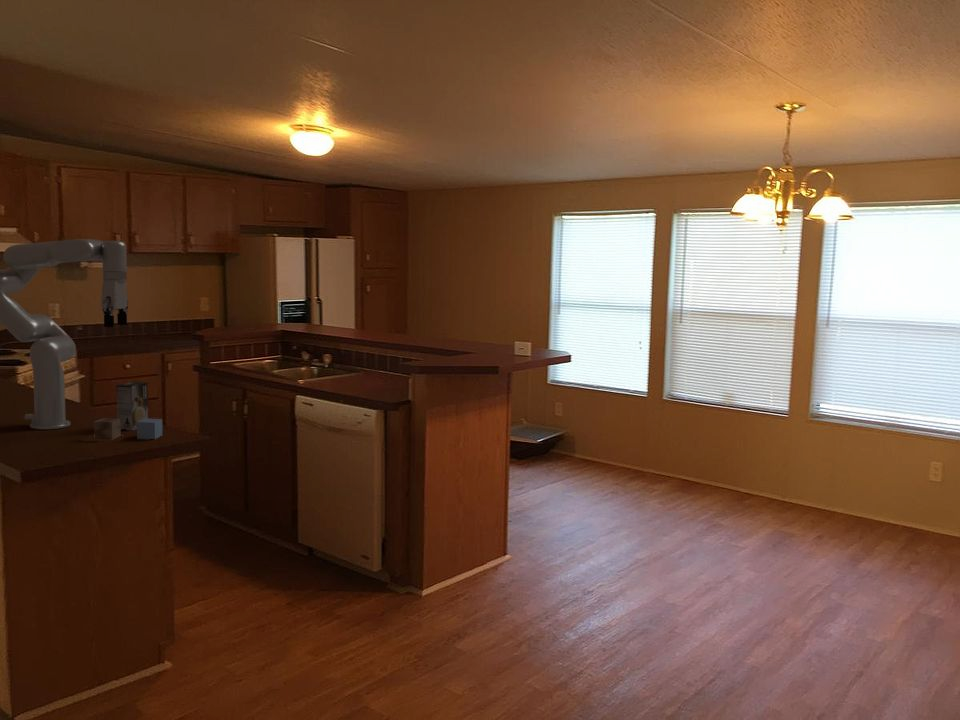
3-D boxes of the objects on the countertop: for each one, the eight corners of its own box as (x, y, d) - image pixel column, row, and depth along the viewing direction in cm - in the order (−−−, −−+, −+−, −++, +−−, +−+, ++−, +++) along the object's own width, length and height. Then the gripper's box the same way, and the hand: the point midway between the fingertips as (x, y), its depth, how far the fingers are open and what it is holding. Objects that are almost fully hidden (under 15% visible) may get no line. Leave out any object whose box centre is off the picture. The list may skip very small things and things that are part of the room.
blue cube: (137, 439, 258) (136, 422, 258) (144, 435, 264) (144, 418, 263) (155, 440, 258) (154, 422, 258) (162, 436, 264) (162, 419, 264)
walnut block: (94, 439, 255) (93, 421, 254) (103, 435, 261) (102, 418, 260) (112, 440, 255) (111, 422, 254) (120, 436, 261) (120, 418, 260)
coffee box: (133, 424, 280) (132, 381, 278) (149, 425, 279) (148, 382, 277) (116, 429, 271) (115, 384, 269) (132, 430, 270) (132, 385, 268)
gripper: (115, 276, 274) (116, 323, 276) (91, 276, 257) (92, 327, 259) (136, 276, 274) (137, 324, 276) (113, 277, 257) (114, 328, 259)
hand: (115, 325), depth 268 cm, fingers open, 9 cm apart
